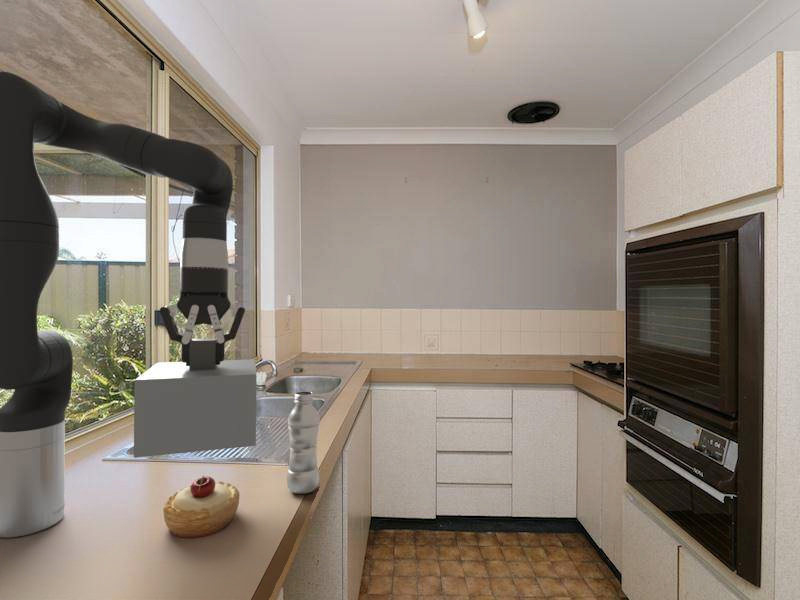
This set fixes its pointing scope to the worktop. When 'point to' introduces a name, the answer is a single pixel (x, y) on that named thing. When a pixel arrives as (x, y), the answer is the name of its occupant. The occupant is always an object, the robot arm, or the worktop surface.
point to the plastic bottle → (303, 445)
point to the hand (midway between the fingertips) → (203, 364)
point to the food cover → (195, 404)
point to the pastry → (201, 508)
